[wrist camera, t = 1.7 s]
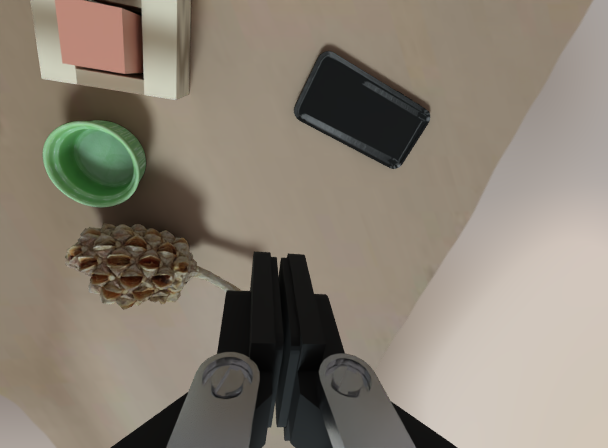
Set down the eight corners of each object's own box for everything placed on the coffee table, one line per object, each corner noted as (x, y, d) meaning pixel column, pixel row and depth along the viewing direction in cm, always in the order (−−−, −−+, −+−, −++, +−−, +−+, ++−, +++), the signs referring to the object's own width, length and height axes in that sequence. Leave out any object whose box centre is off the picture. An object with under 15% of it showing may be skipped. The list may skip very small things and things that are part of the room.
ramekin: (85, 97, 35) (63, 101, 31) (165, 147, 38) (154, 157, 34) (52, 165, 37) (27, 177, 33) (129, 207, 40) (115, 222, 37)
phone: (397, 171, 42) (290, 116, 37) (394, 169, 43) (290, 114, 38) (434, 113, 39) (324, 45, 35) (430, 112, 40) (322, 46, 36)
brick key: (89, 6, 29) (54, -6, 24) (144, 17, 29) (121, 8, 25) (94, 63, 31) (62, 63, 26) (146, 72, 31) (124, 73, 26)
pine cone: (84, 259, 43) (38, 310, 34) (97, 193, 39) (50, 231, 30) (248, 301, 49) (246, 355, 40) (272, 248, 45) (275, 293, 36)
